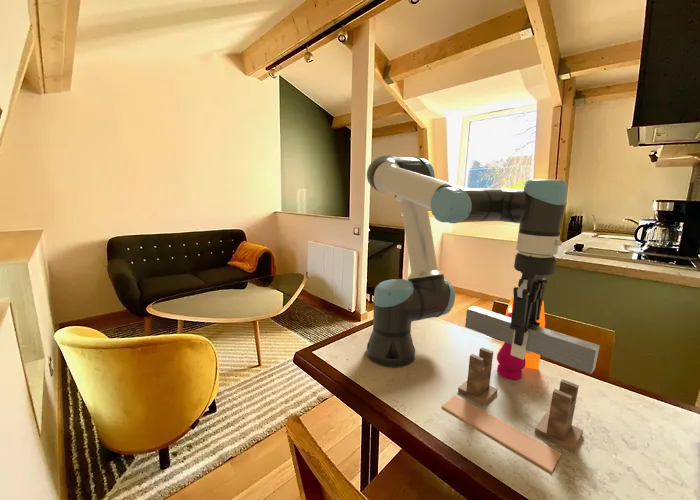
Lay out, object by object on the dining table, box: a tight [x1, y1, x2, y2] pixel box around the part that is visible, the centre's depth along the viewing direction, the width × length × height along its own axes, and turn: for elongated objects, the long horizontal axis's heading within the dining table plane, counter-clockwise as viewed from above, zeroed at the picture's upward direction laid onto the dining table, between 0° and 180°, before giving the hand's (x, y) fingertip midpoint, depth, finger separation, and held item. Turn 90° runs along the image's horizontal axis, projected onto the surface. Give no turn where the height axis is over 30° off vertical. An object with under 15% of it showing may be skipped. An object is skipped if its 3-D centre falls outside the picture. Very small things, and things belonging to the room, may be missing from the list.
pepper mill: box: [496, 312, 526, 381], centre depth 86 cm, size 7×7×20 cm
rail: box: [464, 305, 601, 375], centre depth 69 cm, size 26×3×5 cm, turn 42°
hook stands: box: [457, 347, 584, 454], centre depth 72 cm, size 25×7×11 cm, turn 42°
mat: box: [441, 395, 562, 474], centre depth 67 cm, size 23×6×1 cm, turn 42°
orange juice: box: [501, 297, 546, 370], centre depth 93 cm, size 8×9×20 cm
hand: (520, 353), depth 70 cm, fingers closed on rail, 3 cm apart
